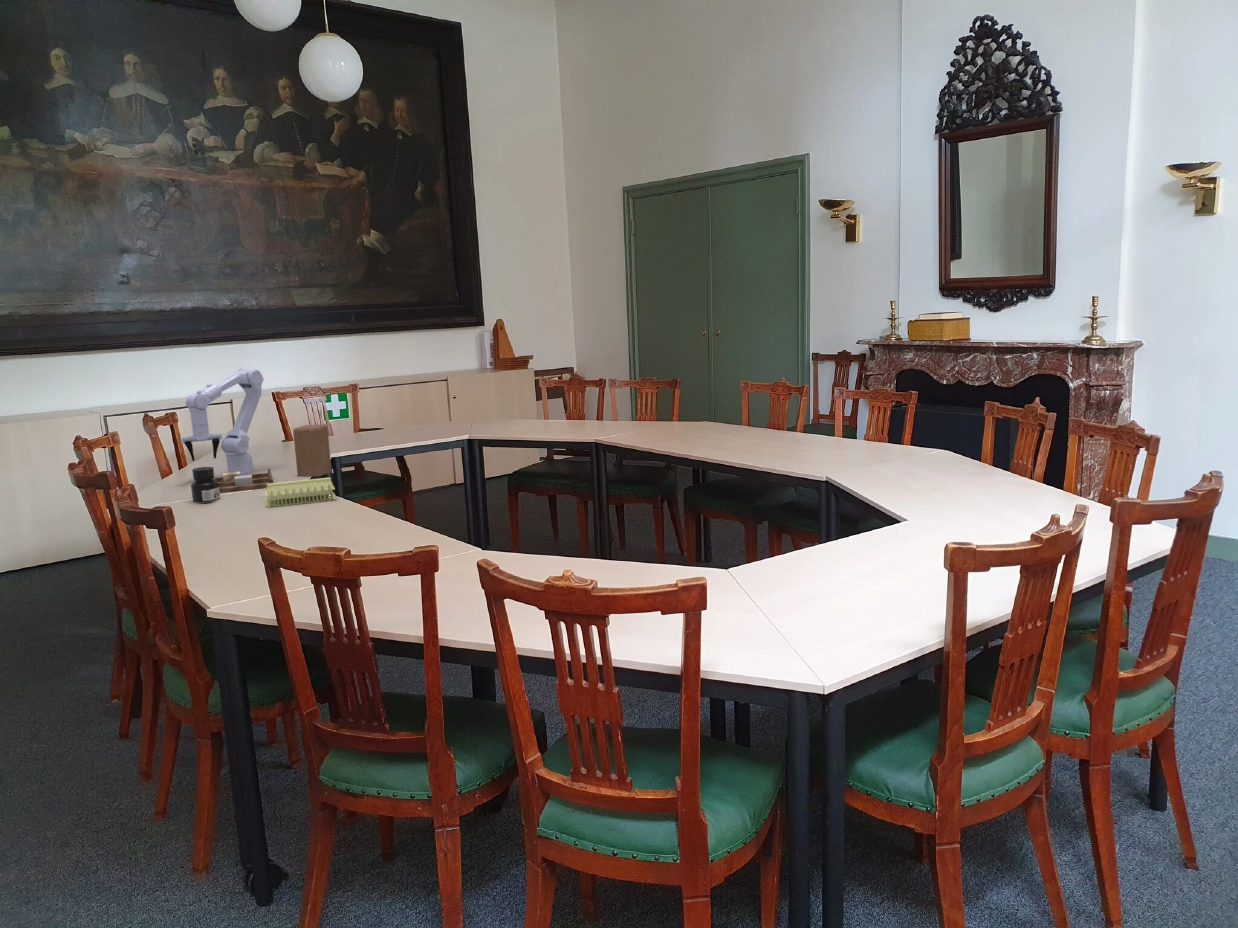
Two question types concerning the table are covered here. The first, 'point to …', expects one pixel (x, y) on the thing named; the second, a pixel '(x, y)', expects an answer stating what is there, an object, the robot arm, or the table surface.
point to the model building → (299, 492)
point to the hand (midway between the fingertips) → (204, 459)
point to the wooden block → (312, 450)
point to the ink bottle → (204, 485)
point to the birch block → (230, 476)
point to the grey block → (243, 480)
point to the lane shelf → (258, 483)
